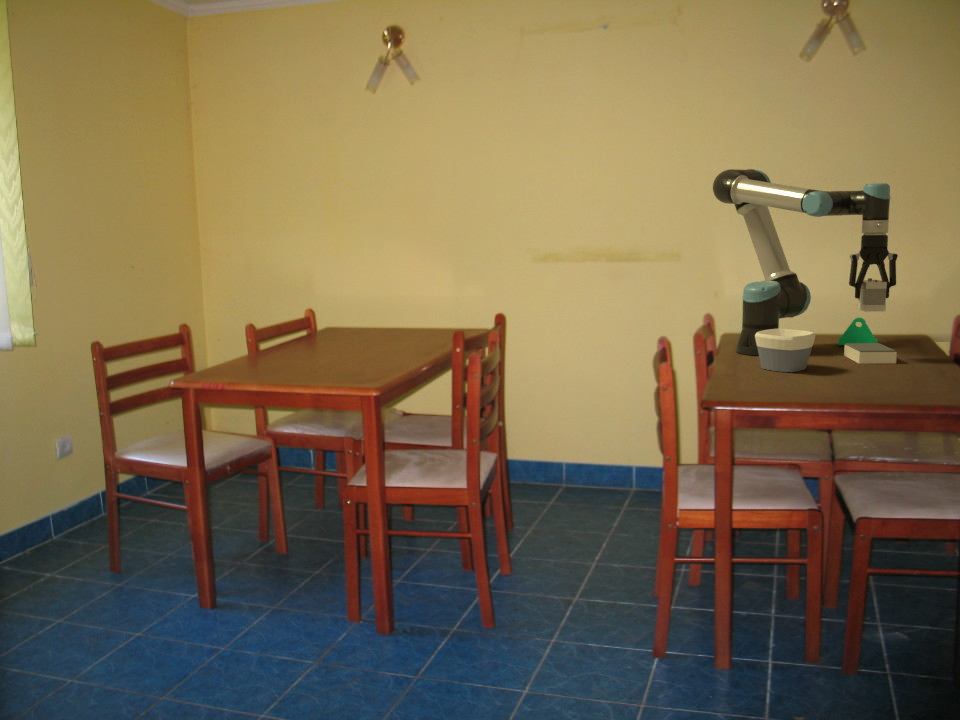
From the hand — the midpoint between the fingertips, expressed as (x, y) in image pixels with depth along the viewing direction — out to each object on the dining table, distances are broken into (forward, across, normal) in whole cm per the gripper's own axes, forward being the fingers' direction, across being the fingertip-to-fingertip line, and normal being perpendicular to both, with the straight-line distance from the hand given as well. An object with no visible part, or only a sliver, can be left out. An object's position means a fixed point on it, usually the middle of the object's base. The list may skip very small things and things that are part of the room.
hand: (871, 308), depth 280 cm
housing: (0, 0, 0) cm, 0 cm away
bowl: (+16, -29, -16) cm, 37 cm away
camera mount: (+16, +4, +27) cm, 32 cm away
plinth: (+16, 0, +1) cm, 16 cm away
